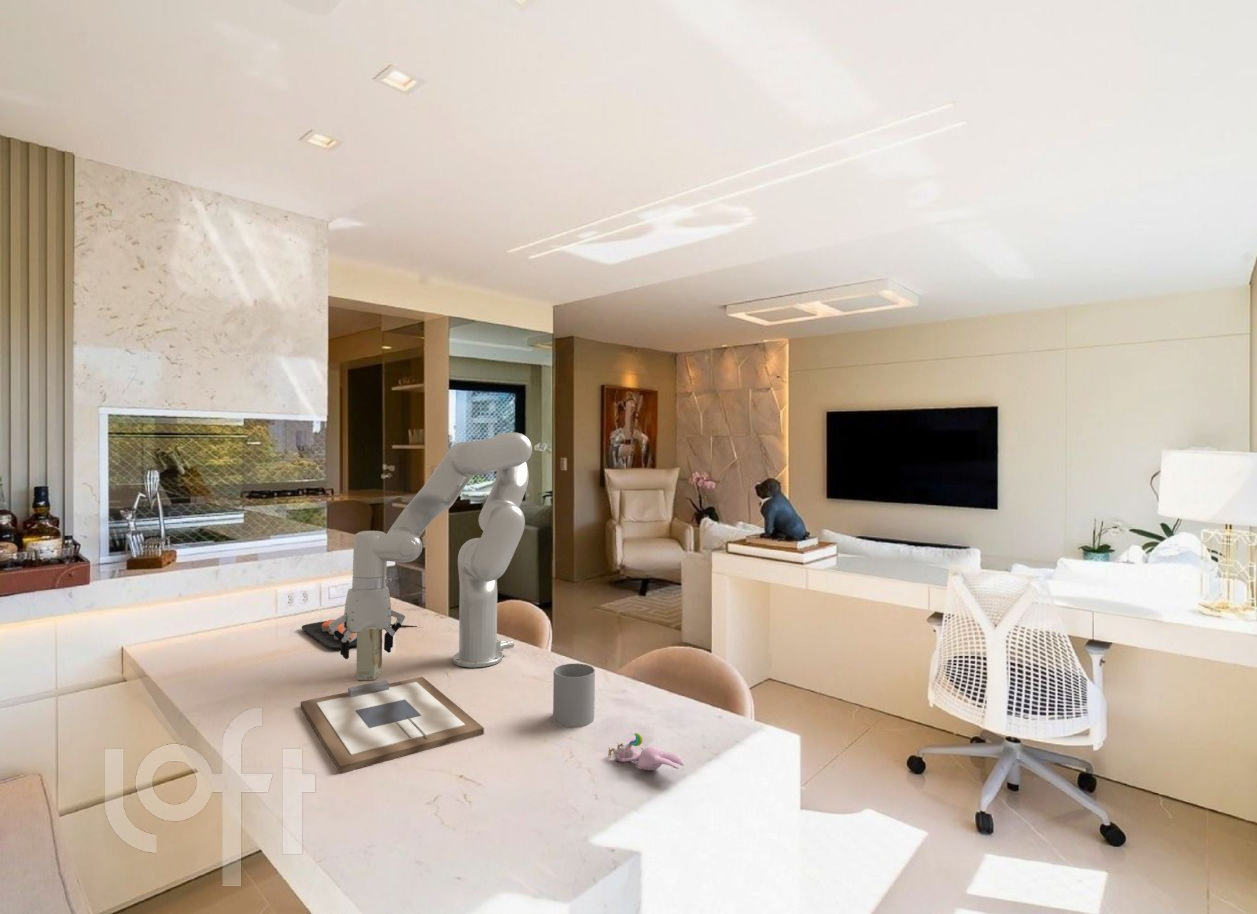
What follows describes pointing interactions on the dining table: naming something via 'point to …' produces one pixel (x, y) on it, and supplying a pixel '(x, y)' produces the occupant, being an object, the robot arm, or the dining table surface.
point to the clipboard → (386, 722)
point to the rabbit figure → (645, 755)
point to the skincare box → (369, 654)
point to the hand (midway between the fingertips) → (366, 654)
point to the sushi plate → (330, 634)
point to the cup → (574, 695)
